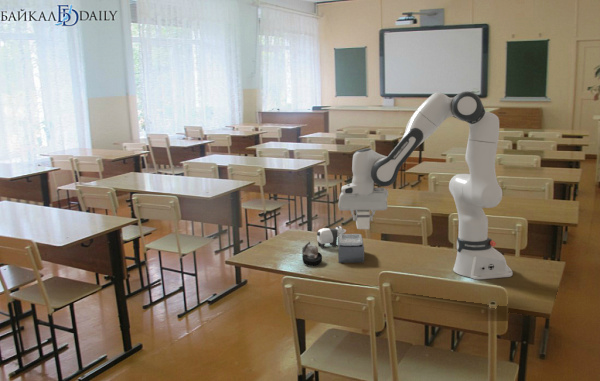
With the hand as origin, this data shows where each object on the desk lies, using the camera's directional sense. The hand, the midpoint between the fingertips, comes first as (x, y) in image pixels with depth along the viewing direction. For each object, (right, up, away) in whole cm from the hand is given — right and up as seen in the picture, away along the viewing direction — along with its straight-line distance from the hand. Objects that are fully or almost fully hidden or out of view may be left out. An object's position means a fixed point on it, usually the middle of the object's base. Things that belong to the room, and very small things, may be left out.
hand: (362, 220), depth 225 cm
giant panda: (-12, -14, +31) cm, 36 cm away
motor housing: (-4, -17, +15) cm, 23 cm away
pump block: (0, -3, +1) cm, 3 cm away
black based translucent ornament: (-21, -19, +10) cm, 30 cm away
